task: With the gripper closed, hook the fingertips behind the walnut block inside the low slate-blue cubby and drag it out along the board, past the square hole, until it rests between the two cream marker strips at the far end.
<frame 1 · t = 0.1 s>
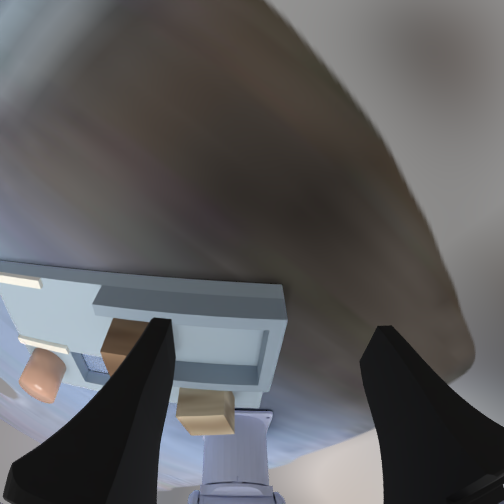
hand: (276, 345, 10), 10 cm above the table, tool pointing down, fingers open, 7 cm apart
beech block: (208, 388, 26), point 1 cm above the table, touching slate board with cubby
walnut block: (145, 331, 22), point 1 cm above the table, touching slate board with cubby
slate board with cubby: (129, 337, 25), on the table
peach rounded cylinder: (49, 360, 25), point 1 cm above the table, touching slate board with cubby
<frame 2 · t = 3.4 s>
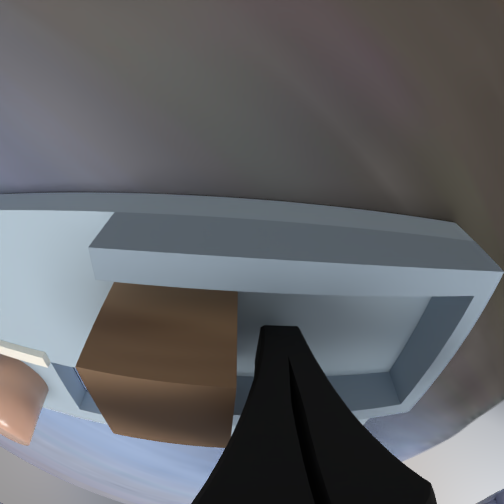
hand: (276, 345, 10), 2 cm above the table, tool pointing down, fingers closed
walnut block: (179, 320, 11), point 2 cm above the table, touching gripper, slate board with cubby
slate board with cubby: (159, 337, 14), on the table
peach rounded cylinder: (21, 375, 14), point 1 cm above the table, touching slate board with cubby
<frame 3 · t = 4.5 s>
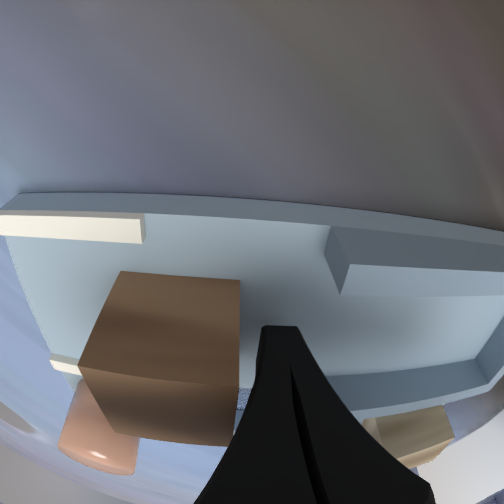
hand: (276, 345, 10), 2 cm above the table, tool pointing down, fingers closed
beech block: (395, 406, 16), point 1 cm above the table, touching slate board with cubby
walnut block: (180, 319, 11), point 2 cm above the table, touching gripper, slate board with cubby
slate board with cubby: (297, 345, 14), on the table
peach rounded cylinder: (111, 398, 14), point 1 cm above the table, touching slate board with cubby
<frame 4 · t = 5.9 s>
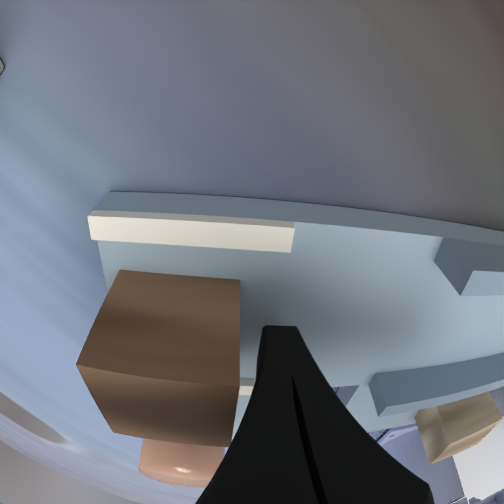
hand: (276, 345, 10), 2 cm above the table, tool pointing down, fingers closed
beech block: (446, 396, 16), point 1 cm above the table, touching slate board with cubby
walnut block: (180, 319, 11), point 2 cm above the table, touching gripper, slate board with cubby
slate board with cubby: (379, 343, 14), on the table
peach rounded cylinder: (187, 408, 14), point 1 cm above the table, touching slate board with cubby
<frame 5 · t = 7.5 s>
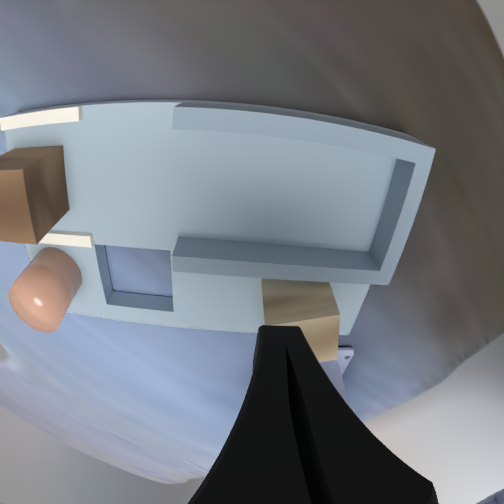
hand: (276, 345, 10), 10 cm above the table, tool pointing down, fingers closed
beech block: (295, 298, 20), point 1 cm above the table, touching slate board with cubby
walnut block: (40, 178, 15), point 1 cm above the table, touching slate board with cubby
slate board with cubby: (190, 217, 18), on the table
peach rounded cylinder: (58, 271, 19), point 1 cm above the table, touching slate board with cubby
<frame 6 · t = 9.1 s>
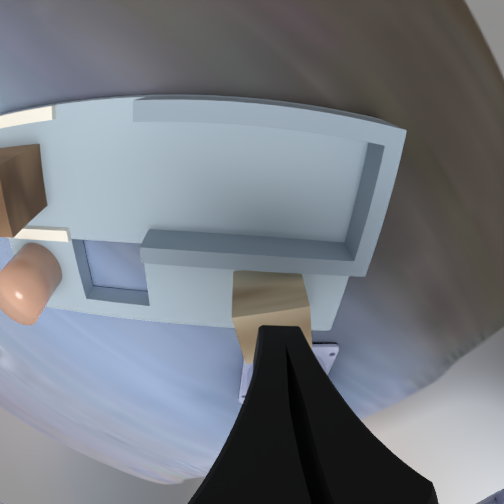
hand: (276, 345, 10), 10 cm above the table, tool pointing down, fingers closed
beech block: (270, 291, 20), point 1 cm above the table, touching slate board with cubby
walnut block: (20, 176, 15), point 1 cm above the table, touching slate board with cubby
slate board with cubby: (162, 210, 18), on the table
peach rounded cylinder: (39, 266, 18), point 1 cm above the table, touching slate board with cubby
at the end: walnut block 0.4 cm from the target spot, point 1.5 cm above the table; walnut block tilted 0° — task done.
